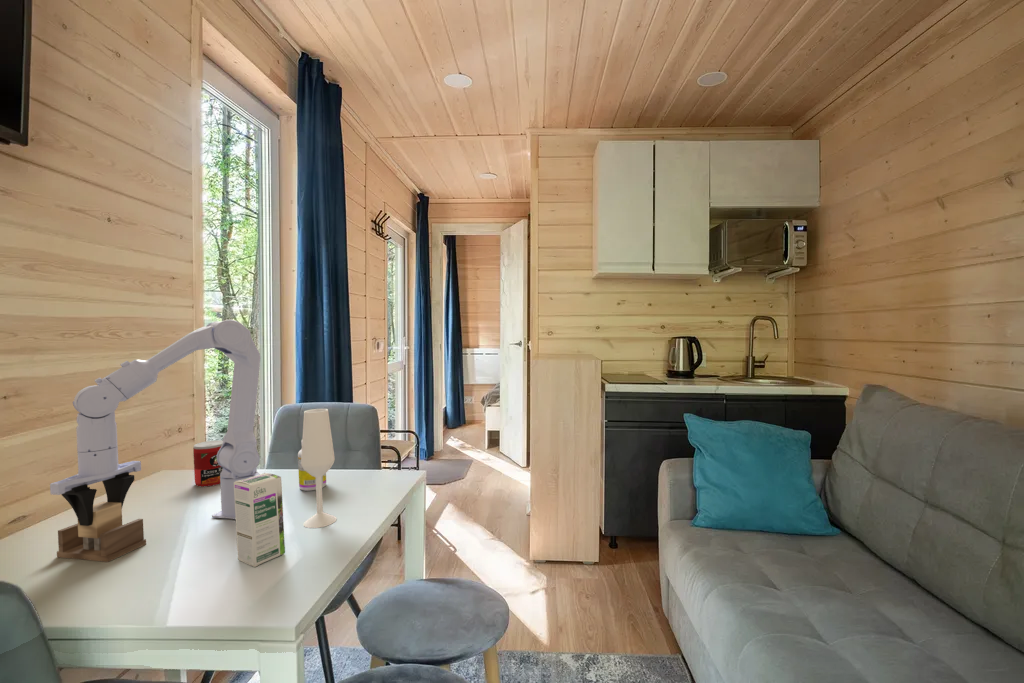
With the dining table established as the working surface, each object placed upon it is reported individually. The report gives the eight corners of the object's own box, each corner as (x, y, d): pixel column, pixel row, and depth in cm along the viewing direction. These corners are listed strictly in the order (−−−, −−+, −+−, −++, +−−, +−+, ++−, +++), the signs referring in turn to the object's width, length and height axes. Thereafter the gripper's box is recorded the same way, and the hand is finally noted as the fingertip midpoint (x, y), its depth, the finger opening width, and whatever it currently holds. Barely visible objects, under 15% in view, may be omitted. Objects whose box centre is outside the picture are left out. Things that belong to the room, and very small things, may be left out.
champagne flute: (340, 522, 98) (336, 410, 98) (305, 530, 94) (301, 414, 94) (333, 512, 104) (329, 406, 103) (300, 520, 100) (296, 410, 100)
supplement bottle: (317, 481, 127) (315, 435, 126) (331, 485, 123) (329, 438, 122) (294, 488, 121) (292, 440, 121) (307, 493, 117) (305, 443, 117)
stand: (146, 544, 90) (145, 519, 90) (108, 561, 83) (106, 534, 83) (97, 540, 93) (96, 515, 93) (56, 557, 86) (55, 530, 86)
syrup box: (254, 568, 80) (251, 485, 79) (236, 560, 83) (233, 480, 82) (285, 554, 84) (282, 475, 84) (267, 547, 88) (264, 471, 87)
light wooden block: (122, 528, 90) (121, 502, 90) (97, 538, 85) (96, 511, 85) (104, 526, 91) (103, 501, 90) (78, 536, 86) (77, 510, 86)
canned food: (201, 489, 123) (199, 448, 123) (190, 483, 128) (188, 444, 128) (232, 481, 129) (230, 442, 129) (220, 476, 134) (219, 438, 134)
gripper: (120, 439, 96) (123, 504, 96) (35, 458, 81) (39, 534, 82) (148, 440, 94) (151, 505, 94) (66, 459, 80) (69, 537, 80)
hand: (101, 519), depth 88 cm, fingers closed on light wooden block, 4 cm apart
